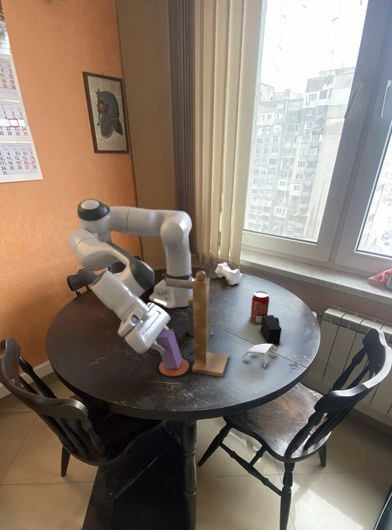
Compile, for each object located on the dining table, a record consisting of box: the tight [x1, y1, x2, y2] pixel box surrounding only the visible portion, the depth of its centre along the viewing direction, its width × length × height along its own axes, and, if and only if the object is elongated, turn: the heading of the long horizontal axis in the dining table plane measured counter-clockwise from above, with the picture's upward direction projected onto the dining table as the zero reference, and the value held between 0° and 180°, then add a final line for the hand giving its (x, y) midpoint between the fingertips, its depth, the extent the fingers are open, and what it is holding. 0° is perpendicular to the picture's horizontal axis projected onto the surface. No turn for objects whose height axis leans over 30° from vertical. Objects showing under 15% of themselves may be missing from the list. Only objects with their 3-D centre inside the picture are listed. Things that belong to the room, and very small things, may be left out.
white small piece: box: [242, 343, 279, 368], centre depth 101 cm, size 12×8×5 cm
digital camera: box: [260, 314, 282, 346], centre depth 113 cm, size 10×5×7 cm, turn 5°
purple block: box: [155, 329, 183, 369], centre depth 97 cm, size 12×5×5 cm
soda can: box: [249, 290, 270, 324], centre depth 123 cm, size 7×7×12 cm
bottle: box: [186, 295, 194, 337], centre depth 115 cm, size 6×6×15 cm
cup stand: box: [165, 270, 229, 378], centre depth 93 cm, size 18×10×33 cm, turn 74°
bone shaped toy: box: [214, 261, 243, 286], centre depth 161 cm, size 15×9×8 cm, turn 27°
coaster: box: [158, 357, 190, 378], centre depth 100 cm, size 10×10×1 cm
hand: (168, 345), depth 96 cm, fingers open, 5 cm apart
